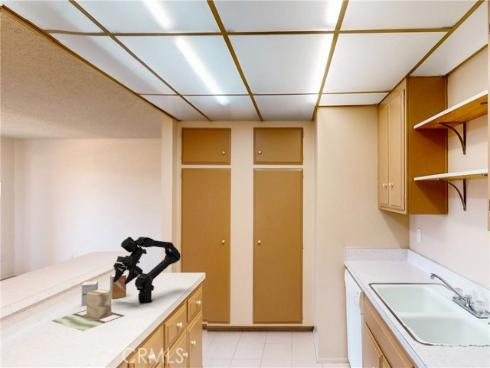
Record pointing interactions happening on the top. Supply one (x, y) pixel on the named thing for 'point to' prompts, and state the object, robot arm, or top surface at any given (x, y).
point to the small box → (118, 287)
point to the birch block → (98, 303)
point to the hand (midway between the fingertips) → (119, 283)
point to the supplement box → (88, 290)
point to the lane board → (83, 321)
